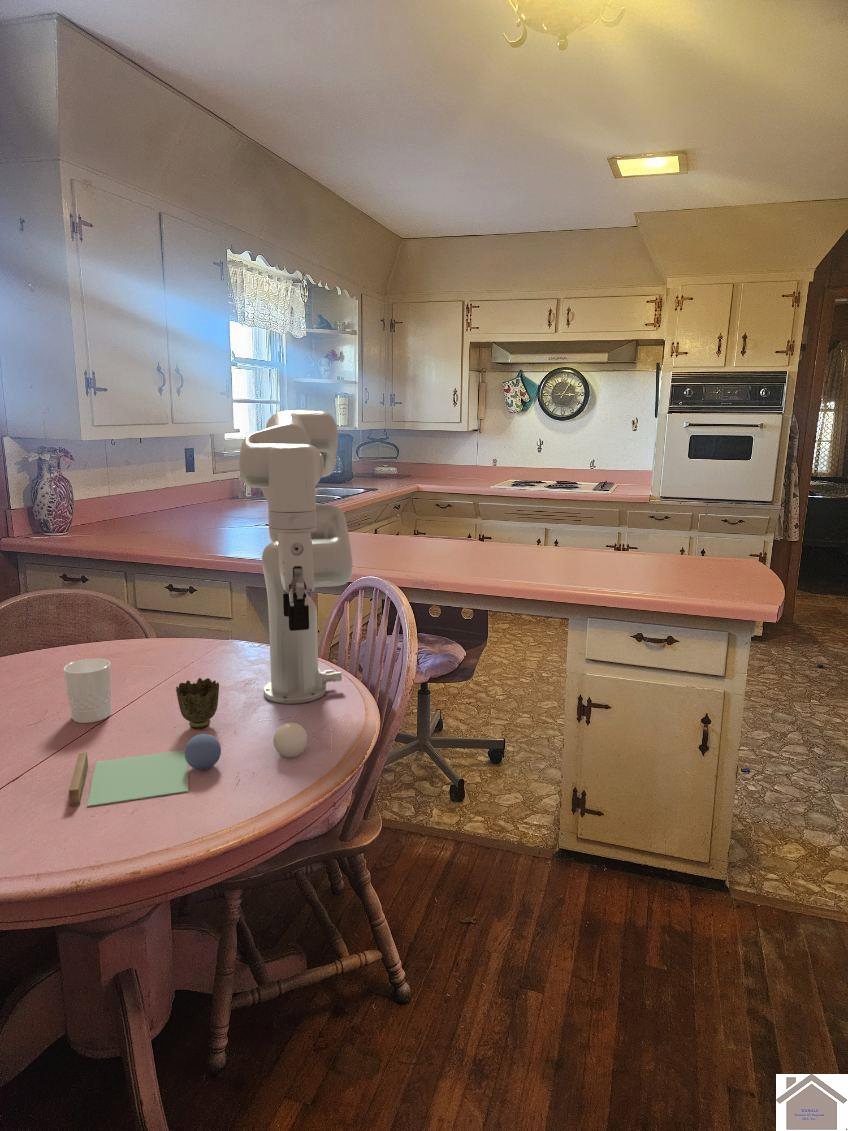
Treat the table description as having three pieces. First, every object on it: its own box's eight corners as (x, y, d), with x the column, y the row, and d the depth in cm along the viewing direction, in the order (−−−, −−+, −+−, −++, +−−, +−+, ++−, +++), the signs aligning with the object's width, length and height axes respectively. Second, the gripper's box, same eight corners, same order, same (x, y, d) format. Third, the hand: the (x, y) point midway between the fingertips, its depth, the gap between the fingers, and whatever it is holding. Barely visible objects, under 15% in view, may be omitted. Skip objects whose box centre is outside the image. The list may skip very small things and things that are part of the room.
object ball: (220, 757, 120) (219, 726, 119) (222, 773, 115) (221, 740, 114) (185, 762, 118) (183, 730, 117) (185, 778, 113) (183, 745, 112)
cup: (182, 739, 126) (179, 696, 125) (175, 722, 133) (172, 681, 131) (225, 730, 130) (223, 689, 128) (216, 715, 136) (214, 675, 134)
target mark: (186, 750, 122) (186, 749, 122) (188, 791, 109) (188, 790, 109) (96, 762, 118) (96, 761, 118) (87, 807, 105) (87, 805, 105)
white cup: (97, 726, 131) (92, 674, 129) (58, 722, 132) (53, 671, 130) (123, 709, 138) (119, 660, 136) (86, 705, 140) (82, 656, 138)
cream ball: (304, 745, 124) (304, 715, 123) (310, 760, 119) (309, 729, 118) (271, 750, 123) (270, 719, 121) (276, 765, 117) (275, 733, 116)
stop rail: (88, 766, 116) (86, 752, 116) (79, 804, 105) (78, 789, 105) (80, 767, 116) (78, 753, 115) (70, 806, 105) (68, 790, 104)
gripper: (323, 527, 112) (325, 634, 115) (309, 515, 128) (311, 609, 131) (273, 528, 110) (277, 637, 113) (266, 516, 126) (269, 612, 129)
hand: (296, 622), depth 122 cm, fingers open, 9 cm apart
